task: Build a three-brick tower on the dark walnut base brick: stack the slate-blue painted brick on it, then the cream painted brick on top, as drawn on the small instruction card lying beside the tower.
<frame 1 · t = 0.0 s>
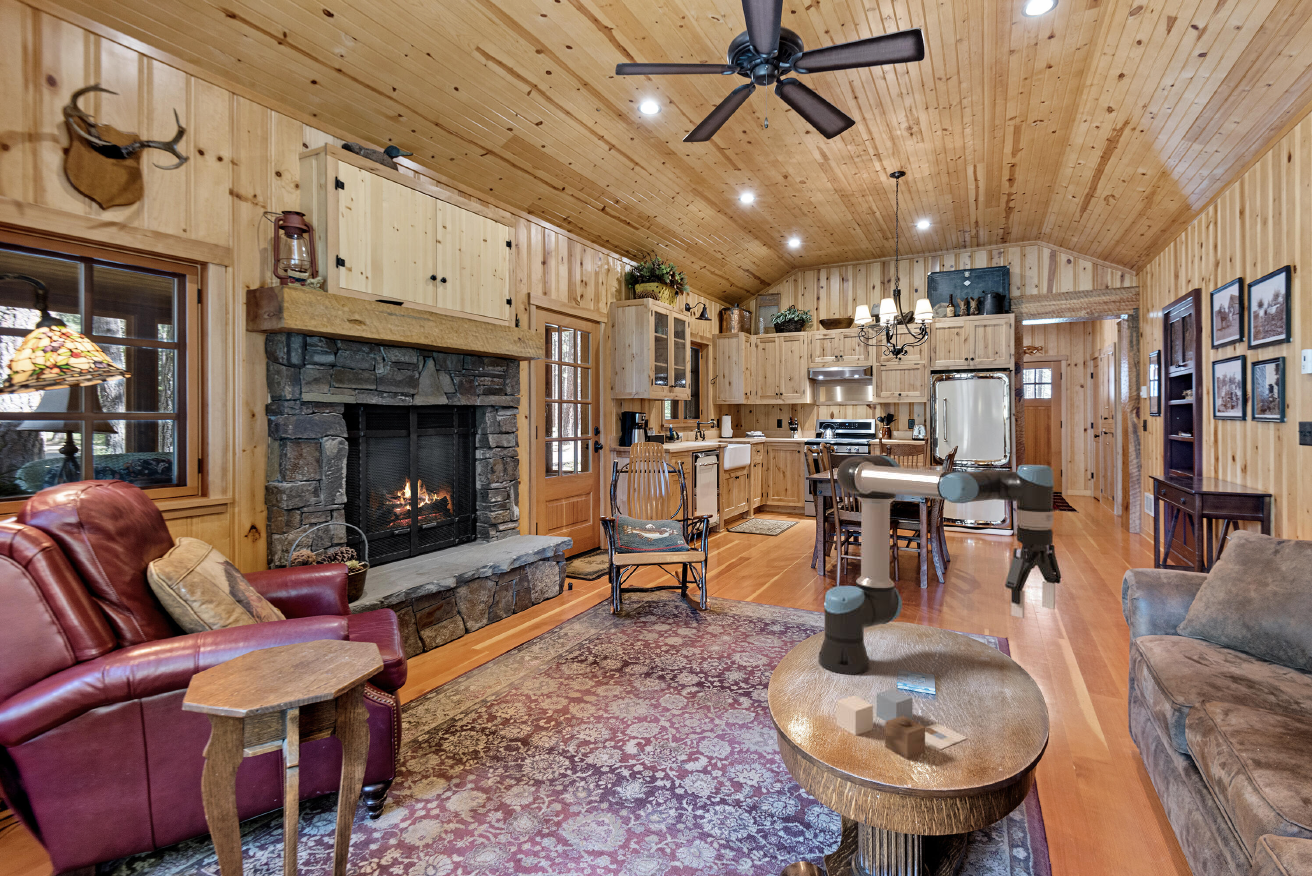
hand: (1033, 612, 148), 28 cm above the table, fingers open, 13 cm apart
cream brick: (854, 727, 147), on the table
slate brick: (894, 719, 151), on the table
walnut base brick: (904, 750, 136), on the table
instruction card: (938, 736, 142), on the table
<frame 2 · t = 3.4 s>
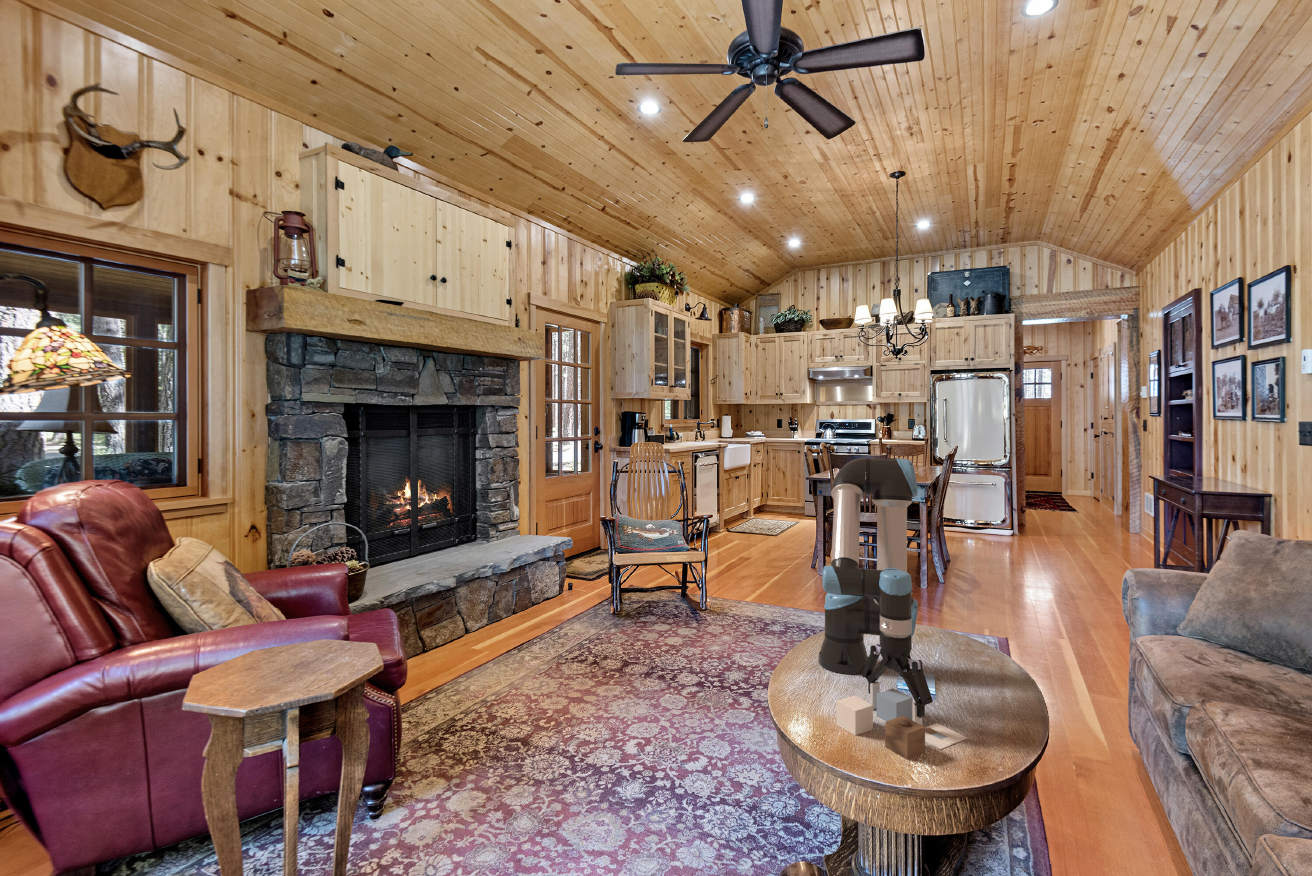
hand: (895, 718, 150), 0 cm above the table, fingers open, 12 cm apart
nothing on the table moved.
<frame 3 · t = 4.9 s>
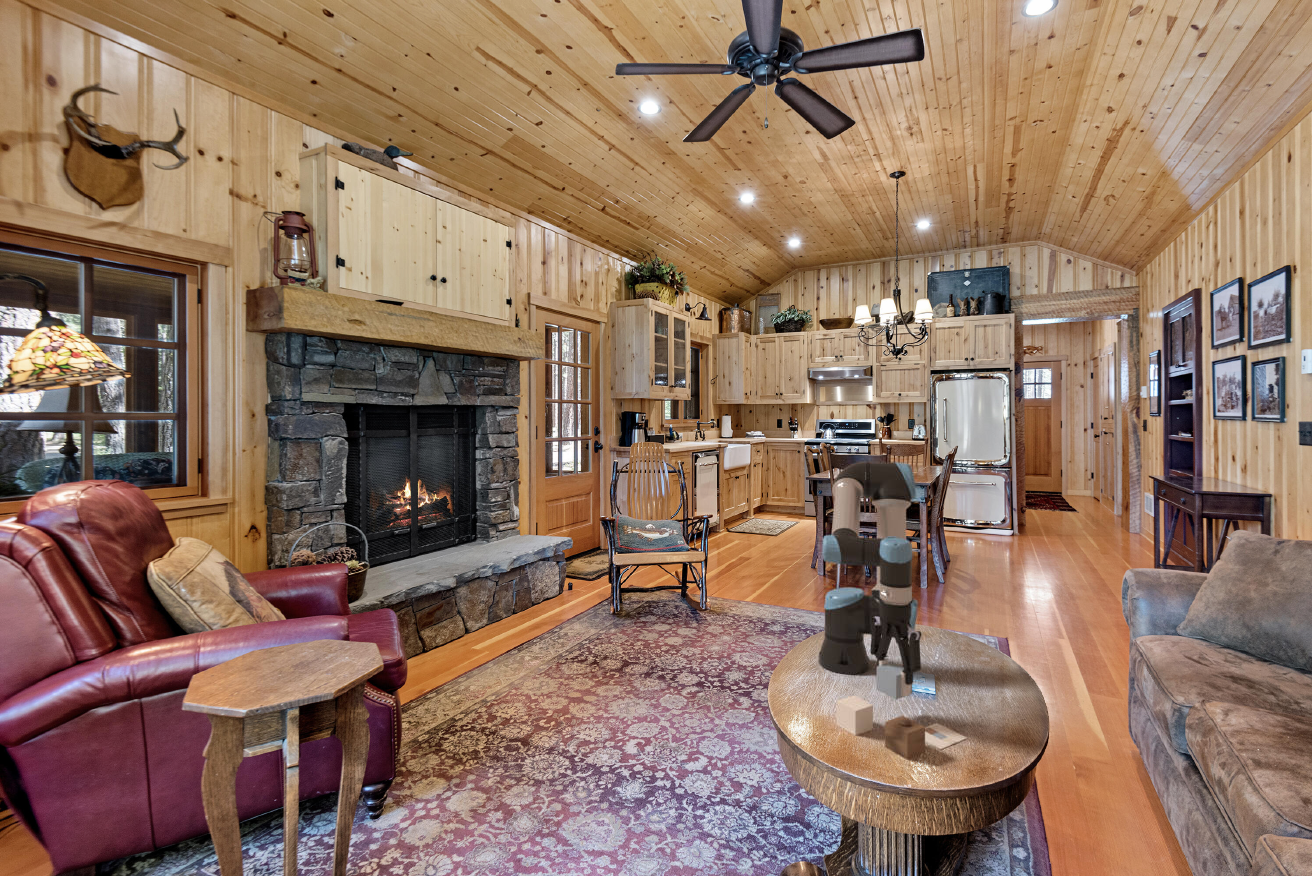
hand: (894, 689, 151), 7 cm above the table, fingers closed on slate brick, 6 cm apart
slate brick: (894, 691, 151), point 7 cm above the table, touching gripper
everything else where it was.
when the fingers open (6 cm above the table, at t = 8.2 s): slate brick stays where it is, resting on walnut base brick.
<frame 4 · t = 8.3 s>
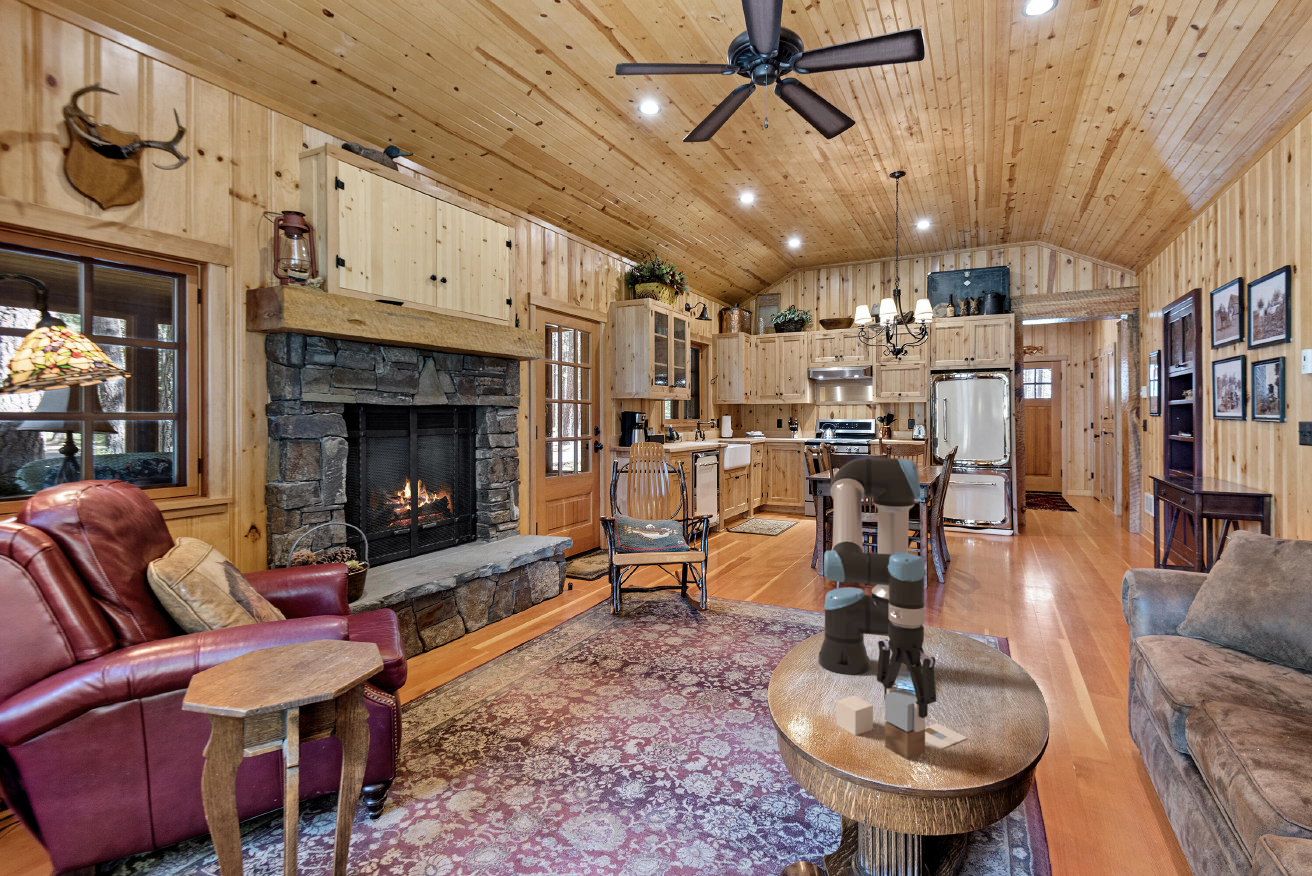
hand: (905, 722, 136), 6 cm above the table, fingers open, 7 cm apart
slate brick: (904, 722, 136), point 6 cm above the table, touching walnut base brick
walnut base brick: (904, 750, 136), on the table, touching slate brick
everything else where it was.
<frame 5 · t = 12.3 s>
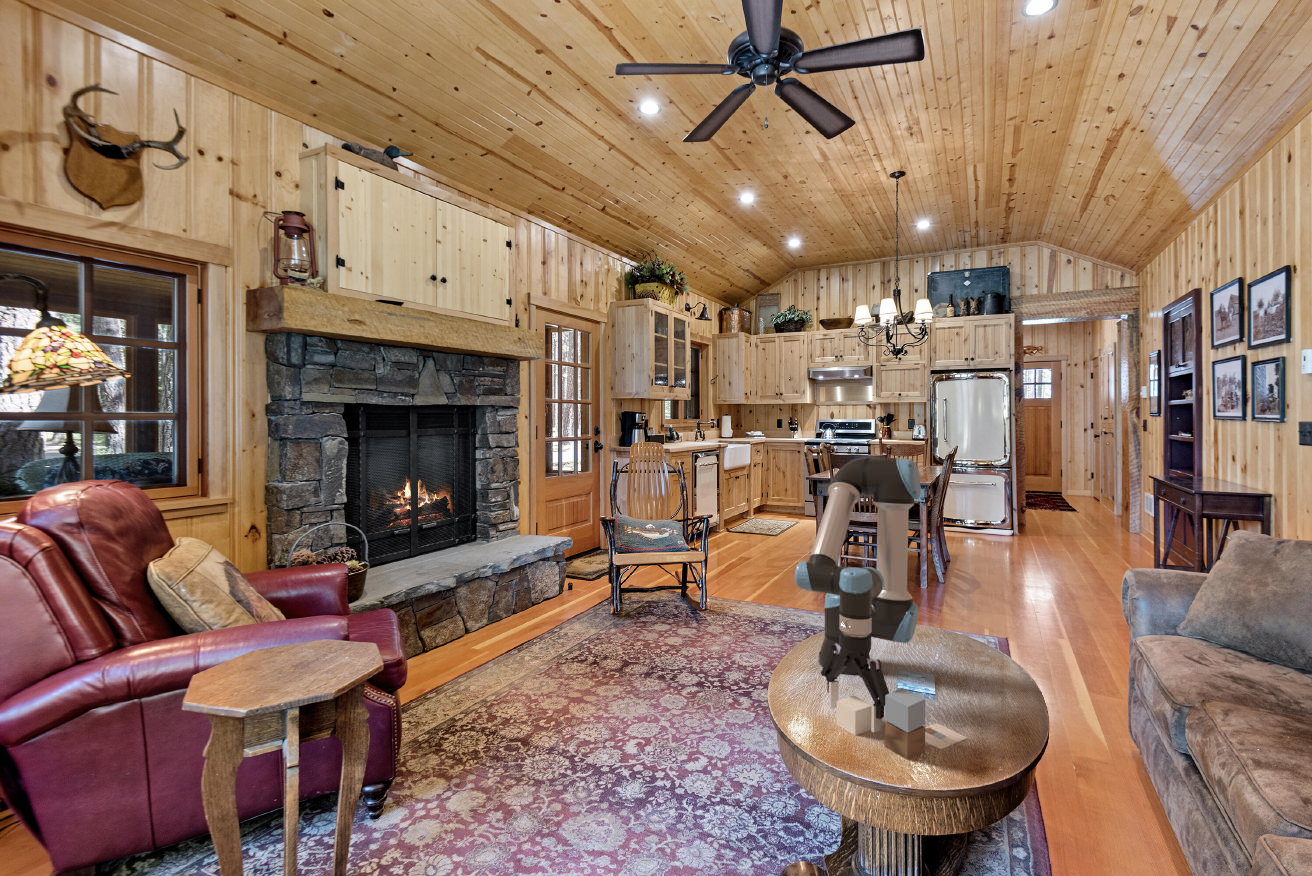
hand: (854, 718, 146), 2 cm above the table, fingers open, 13 cm apart
nothing on the table moved.
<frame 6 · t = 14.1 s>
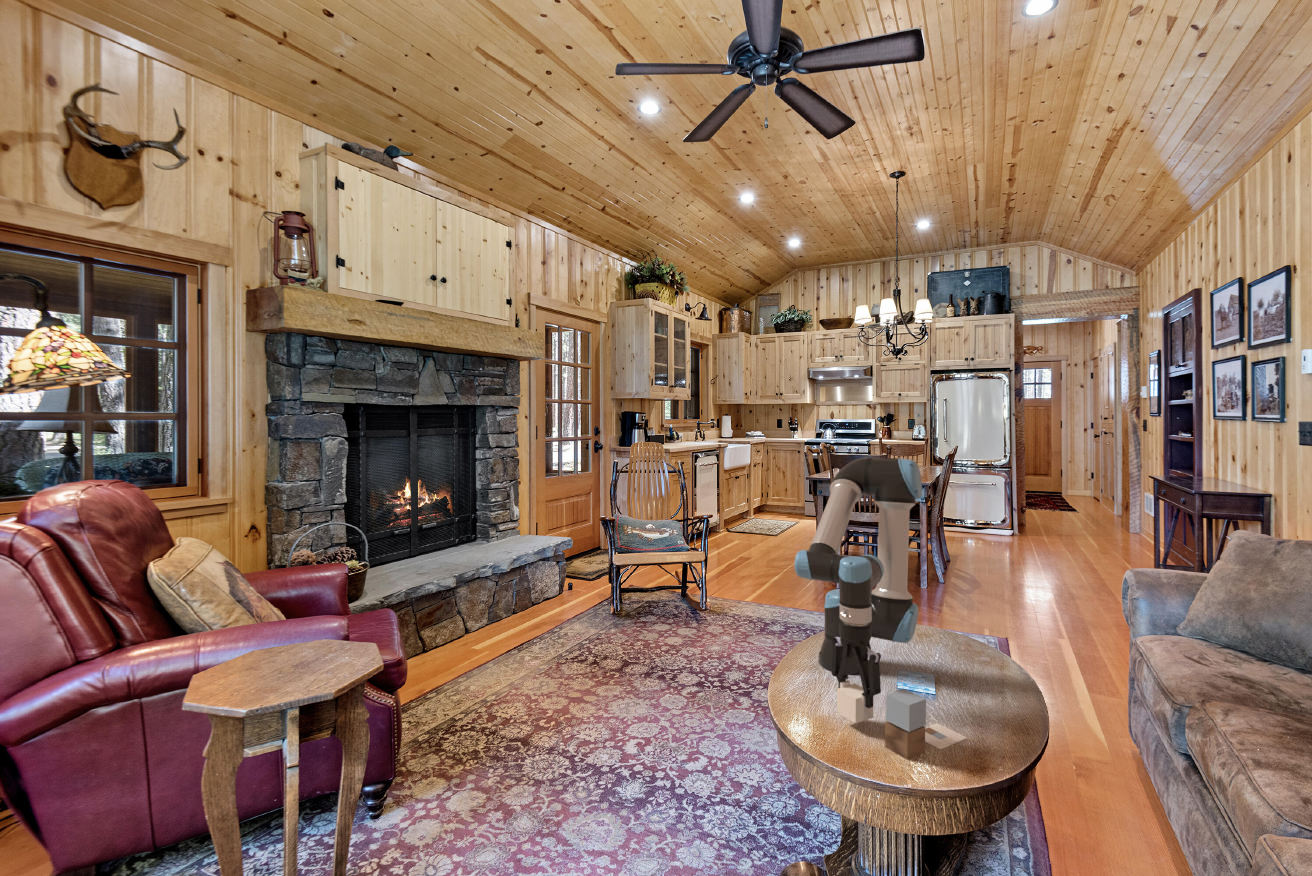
hand: (855, 712, 147), 3 cm above the table, fingers closed on cream brick, 6 cm apart
cream brick: (855, 714, 147), point 3 cm above the table, touching gripper
everything else where it was.
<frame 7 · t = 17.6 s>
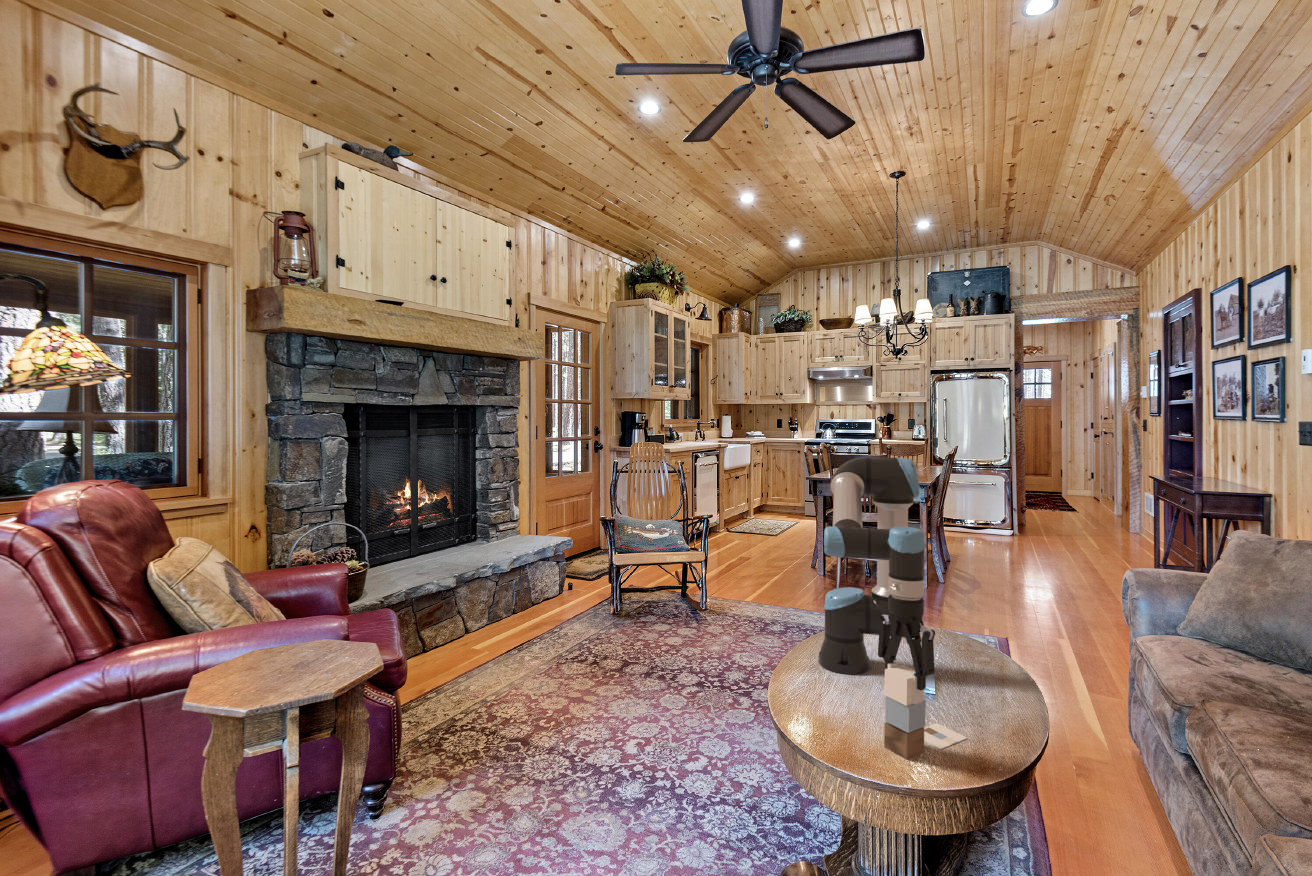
hand: (904, 696, 136), 12 cm above the table, fingers closed on cream brick, 6 cm apart
cream brick: (904, 697, 136), point 12 cm above the table, touching gripper, slate brick
slate brick: (905, 723, 136), point 6 cm above the table, touching cream brick, gripper, walnut base brick
everything else where it was.
when the fingers open (12 cm above the table, at t = 17.8 s): cream brick stays where it is, resting on slate brick.
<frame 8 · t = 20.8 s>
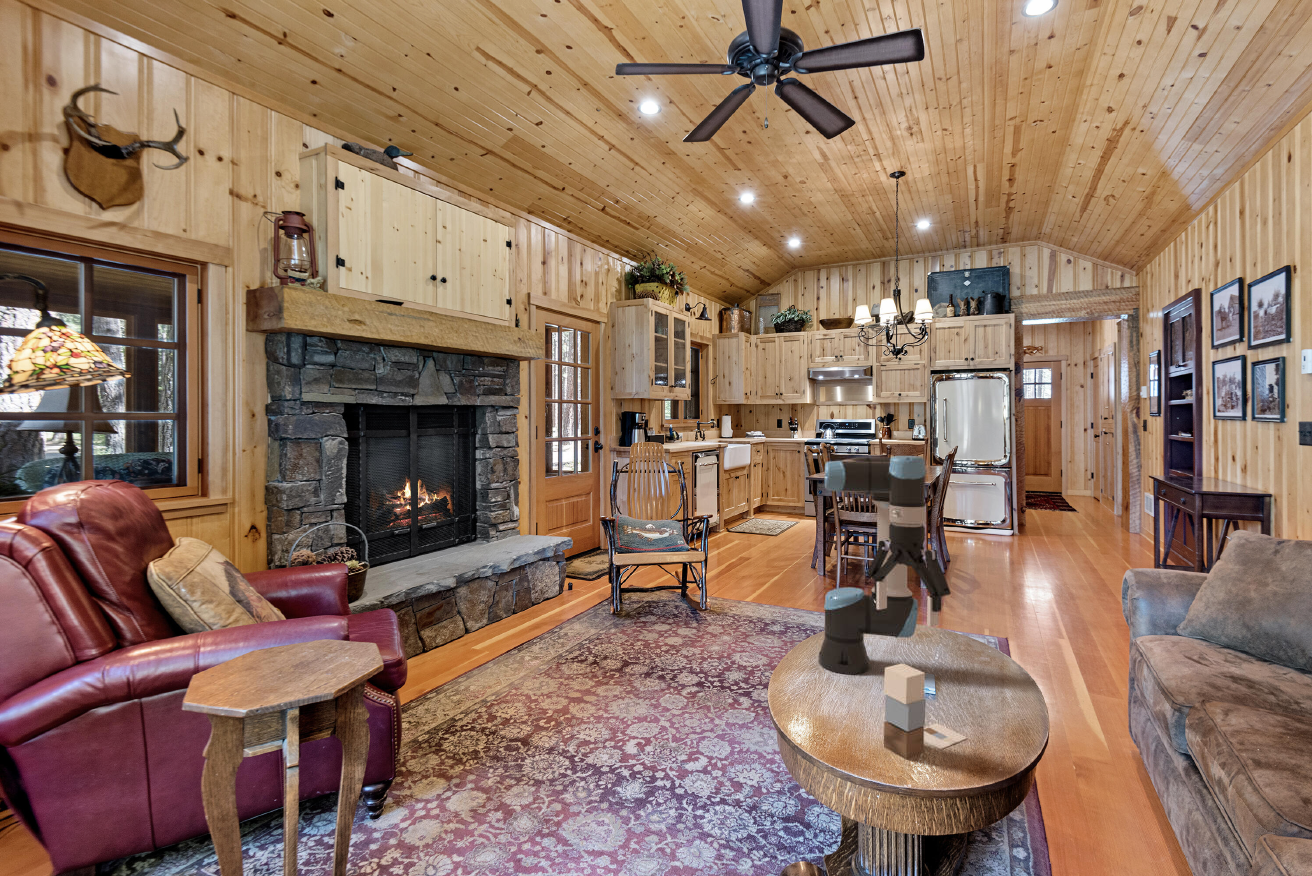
hand: (906, 616, 136), 31 cm above the table, fingers open, 13 cm apart
cream brick: (903, 696, 136), point 12 cm above the table, touching slate brick
slate brick: (904, 722, 136), point 6 cm above the table, touching cream brick, walnut base brick
everything else where it was.
at the end: slate brick 0.2 cm off-centre on the walnut base brick, point 6.6 cm above the walnut base brick's base; cream brick 0.5 cm off-centre on the walnut base brick, point 12.5 cm above the walnut base brick's base; cream brick tilted 2° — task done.
